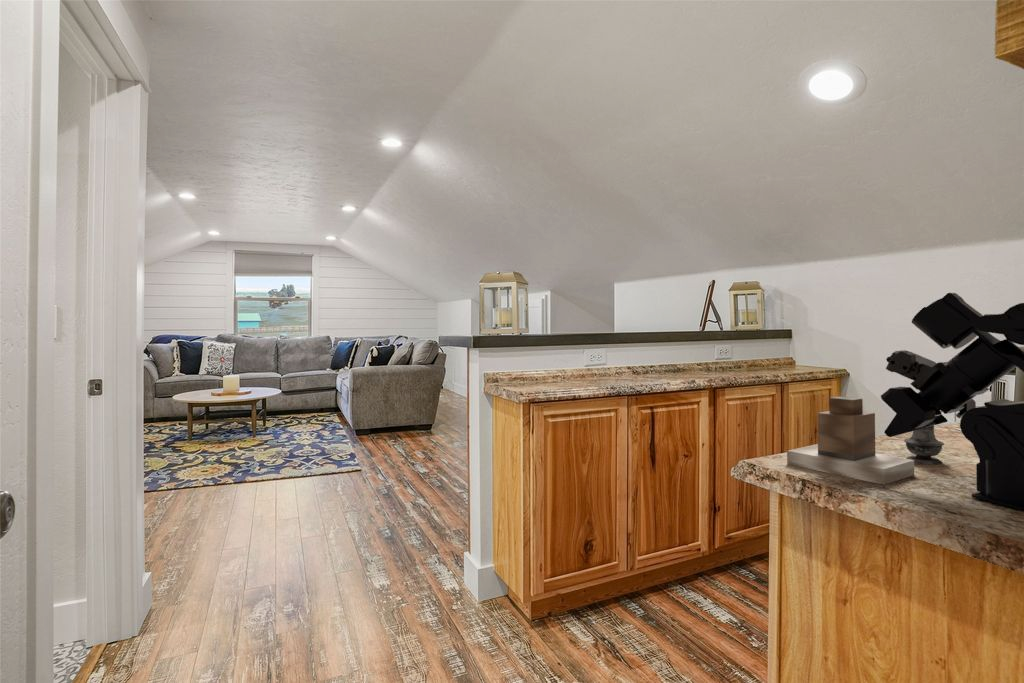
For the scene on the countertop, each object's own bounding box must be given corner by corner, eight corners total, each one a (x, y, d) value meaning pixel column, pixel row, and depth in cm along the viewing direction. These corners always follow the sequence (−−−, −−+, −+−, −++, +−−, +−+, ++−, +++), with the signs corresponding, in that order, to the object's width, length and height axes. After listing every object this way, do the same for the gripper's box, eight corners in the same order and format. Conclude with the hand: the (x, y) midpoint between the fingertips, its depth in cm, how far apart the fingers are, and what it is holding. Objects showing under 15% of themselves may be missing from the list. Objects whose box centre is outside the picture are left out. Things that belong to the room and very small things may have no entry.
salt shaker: (945, 466, 93) (944, 398, 93) (903, 462, 96) (903, 396, 96) (943, 459, 97) (943, 395, 97) (904, 455, 101) (903, 393, 101)
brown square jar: (875, 455, 92) (874, 398, 91) (854, 461, 88) (853, 401, 88) (839, 449, 97) (838, 395, 97) (818, 454, 93) (817, 398, 93)
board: (914, 474, 88) (914, 459, 88) (884, 484, 83) (884, 468, 83) (818, 456, 102) (817, 443, 102) (787, 464, 97) (787, 450, 97)
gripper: (950, 332, 87) (877, 392, 96) (895, 334, 77) (820, 401, 87) (1014, 383, 80) (929, 442, 90) (962, 392, 70) (873, 458, 80)
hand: (887, 434), depth 87 cm, fingers closed
